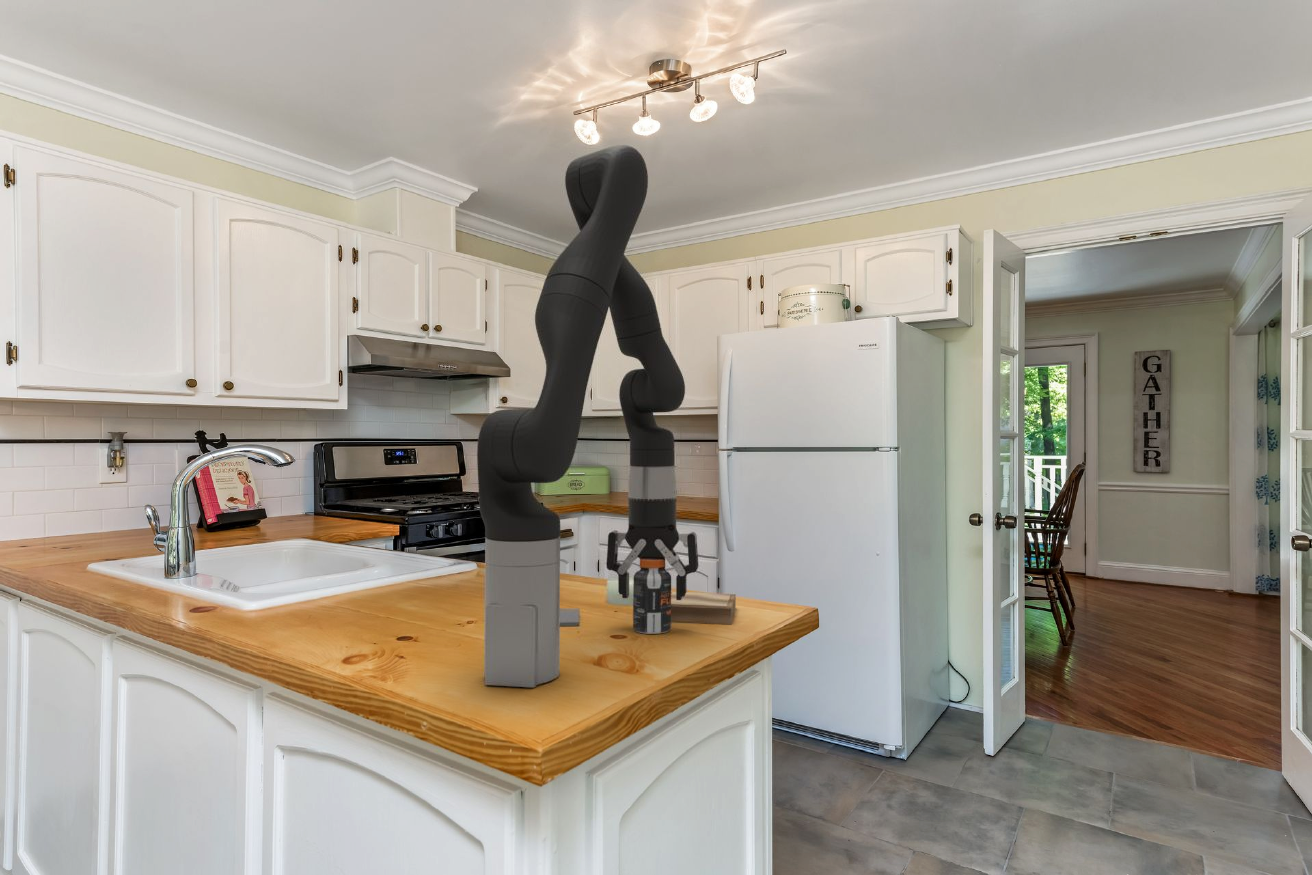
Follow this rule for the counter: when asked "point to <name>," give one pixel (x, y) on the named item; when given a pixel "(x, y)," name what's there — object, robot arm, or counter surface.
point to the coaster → (569, 617)
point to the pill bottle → (652, 597)
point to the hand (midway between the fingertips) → (652, 598)
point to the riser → (703, 608)
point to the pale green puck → (613, 592)
